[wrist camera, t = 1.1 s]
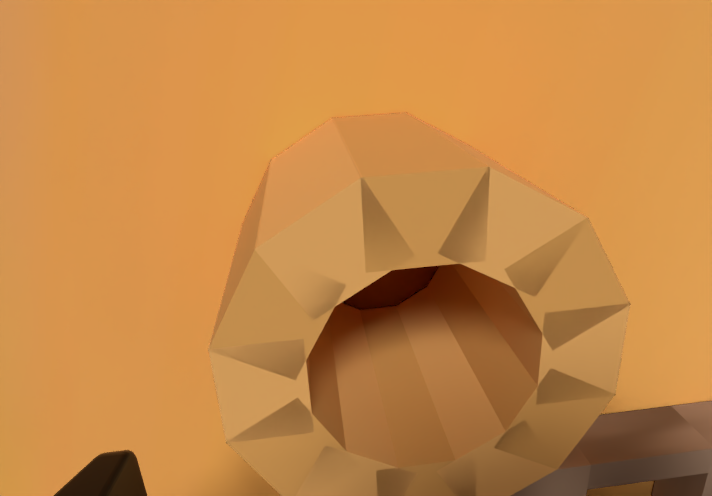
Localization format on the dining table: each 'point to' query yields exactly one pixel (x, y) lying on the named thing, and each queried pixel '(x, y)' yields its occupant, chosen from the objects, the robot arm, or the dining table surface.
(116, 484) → the robot arm
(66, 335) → the dining table surface
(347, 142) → the notched tan hollow cylinder
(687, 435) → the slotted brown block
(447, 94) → the dining table surface
